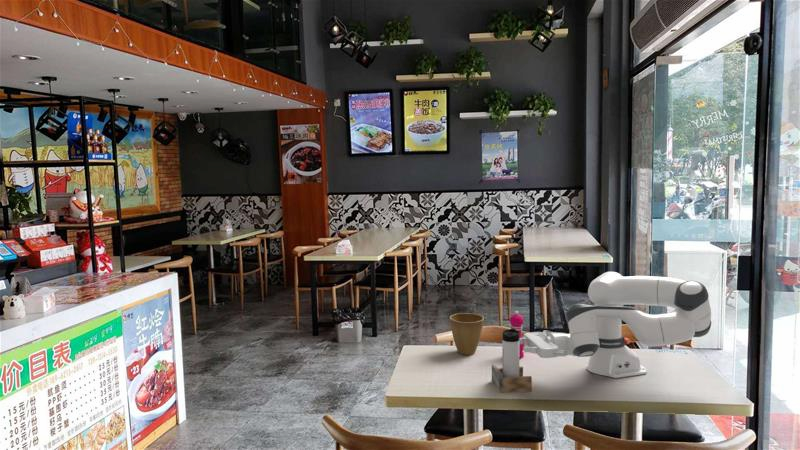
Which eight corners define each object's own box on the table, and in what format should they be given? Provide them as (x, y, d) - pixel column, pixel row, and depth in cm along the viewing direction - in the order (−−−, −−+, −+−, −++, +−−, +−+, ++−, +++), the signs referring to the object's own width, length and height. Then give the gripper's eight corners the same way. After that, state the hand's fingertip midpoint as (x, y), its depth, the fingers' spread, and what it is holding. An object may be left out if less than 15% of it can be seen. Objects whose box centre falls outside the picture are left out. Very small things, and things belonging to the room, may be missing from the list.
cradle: (521, 379, 234) (522, 362, 233) (531, 391, 222) (531, 373, 221) (491, 381, 232) (491, 364, 232) (499, 392, 220) (499, 375, 220)
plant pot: (447, 357, 261) (447, 321, 259) (452, 346, 276) (452, 312, 274) (482, 359, 258) (482, 322, 256) (485, 348, 272) (485, 313, 271)
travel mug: (521, 380, 229) (521, 329, 226) (517, 386, 223) (517, 334, 221) (505, 378, 231) (505, 327, 229) (500, 384, 225) (500, 332, 223)
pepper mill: (525, 359, 257) (525, 313, 254) (507, 358, 258) (507, 312, 256) (524, 353, 264) (525, 309, 261) (508, 353, 265) (508, 308, 263)
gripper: (565, 361, 218) (528, 362, 216) (544, 344, 238) (510, 345, 236) (566, 344, 217) (529, 345, 215) (545, 329, 237) (511, 329, 235)
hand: (519, 345), depth 226 cm, fingers open, 8 cm apart
